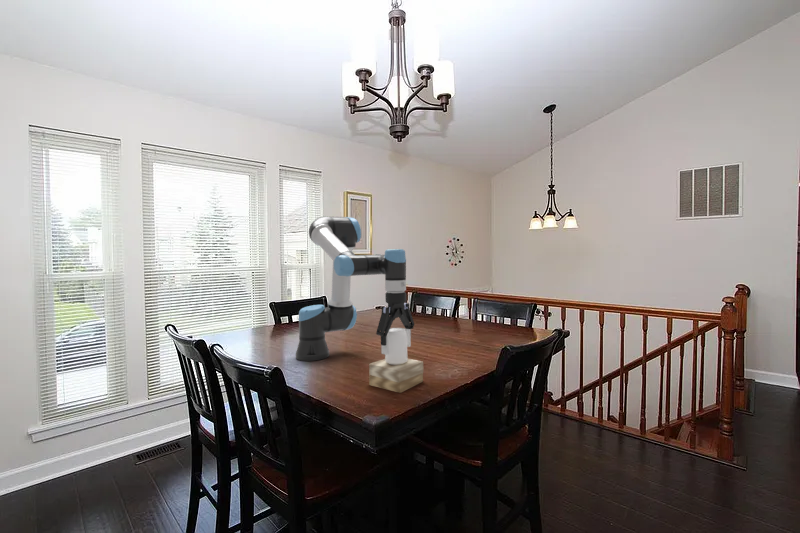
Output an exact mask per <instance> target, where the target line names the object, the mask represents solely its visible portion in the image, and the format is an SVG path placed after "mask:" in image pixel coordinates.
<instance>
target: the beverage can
mask: <svg viewBox="0 0 800 533" xmlns="http://www.w3.org/2000/svg"><path fill="white" fill-rule="evenodd" d="M405 329H406V328H405V327H404V328H403V327H390V329H389V332H388V334H387V336H389V355H385V354H384V359H385V361H386V363H388V364H391V365H400V364H404V363H405V362H407V361H408V359H409V357H408V346H407V333H406V331H405Z"/></svg>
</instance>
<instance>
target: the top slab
mask: <svg viewBox="0 0 800 533" xmlns="http://www.w3.org/2000/svg"><path fill="white" fill-rule="evenodd" d="M368 368H369V370H368V371H369V372H368V374H369V375H372V376H376V377H379V378H383V379H387V380H391V381H395V382H399V383H400V382H402V381H404V380H407V379H409V378H411V377H414V376H416V375H418V374H421V373H423V374H424V361H423V360H422V361H421V360H417V359H412V358H408V361H407V362H405V363H404V364H400V365H391V364H388V363H386V361H385V358H384V359H380V360H376V361H373V362H371V363H369V364H368Z"/></svg>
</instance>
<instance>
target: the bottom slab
mask: <svg viewBox="0 0 800 533" xmlns="http://www.w3.org/2000/svg"><path fill="white" fill-rule="evenodd" d="M368 380H369V383H368V385H369V386H372V387H376V388H380V389H383V390H387V391H392V392H395V393H399V394H402V393H403V392H405V391H407V390H409V389H412V388H413V387H415V386H417V385H420V384H421V383H423V382H424V372H423V373H421V374H418V375H416V376H414V377H411V378H409V379H407V380H404V381H402V382H400V383H399V382H395V381H391V380H387V379H383V378H379V377H376V376H372V375H369V376H368Z"/></svg>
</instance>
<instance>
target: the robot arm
mask: <svg viewBox="0 0 800 533" xmlns="http://www.w3.org/2000/svg"><path fill="white" fill-rule="evenodd" d="M308 235H309V239H310V240H311V242H312V243H313V244H315V245H316V246H318V247H320V248H321V249H322V250H323V251H324V252H325V253H326V255H328V256H329V257H330V258H331V259H332V273H331V274H332V275H331V276H332V277H331V278H332V279H331V297H330V298H331V299H330V300H328V302H327V307H326V306H325V305H324V304H313V305H309V306H308V305H307V306H304V307H302V308H300V310H299V311H298V320H297V321H298V338H299V339H298V344H297V350H296V351H295V359H296V360H298V361H303V362H304V361H305V362H306V361H307V362H309V361H310V362H314V361H319V360H325V359H327V358H329V357H330V350H329V346H328V344H327V340H326V333H331V332H340V331H342V332H344V331H347V330H350V329H353V327H355V324H356V322H357V316H358V312H357V308H356V307H355V305H353V304H354V303H353V301H351V299H350V297H351V279H352V278H351V277H352V276H370V275H371V276H373V275H374V276H375V275H384V278H385V280H384V288H385V289H384V290H385V292H386V293H385V294H384V295H385V303H386V304H387V306H382V307H381V314H380V317H379V321H378V324H377V325H378V326H377V329H376V332H375V334H376V335H377V336H380V345H381V349H380V351H381V355H384V356H385V355H389V336H387V334H388V332H389V329H390V328H392V324H393V323H394V321H395V320H396V319H397V318H399V320H400V322H401V324H402V325H403V327H404V329H405V331H406V333H407V348H410V347H411V346H412V343H411V339H412V338H411V336H412V329H413V330H414V326H415V322H414V318H413V315H412V312H411V309H410V303H409V302H407V293H406V291H407V275H406V274H407V258H406V251H405V250H404V249H403V248H399V249H397V248H395V249H394V248H392V249H390V248H389V249H388V248H387V249H385V251H384V254H382V253H380V254H355V252H353V250H354V249H355V248H356V244H358V243H359V242H360V241H361V238H362V228H361V226H360V223H359V221H358V220H357V219H356V218H355V217H350V216H349V217H348V216H326V215H325V216H321V217H320V216H319V217H317V218H316V219H314V220H313V221H312V222H311V223H310V226H309V228H308Z"/></svg>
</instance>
